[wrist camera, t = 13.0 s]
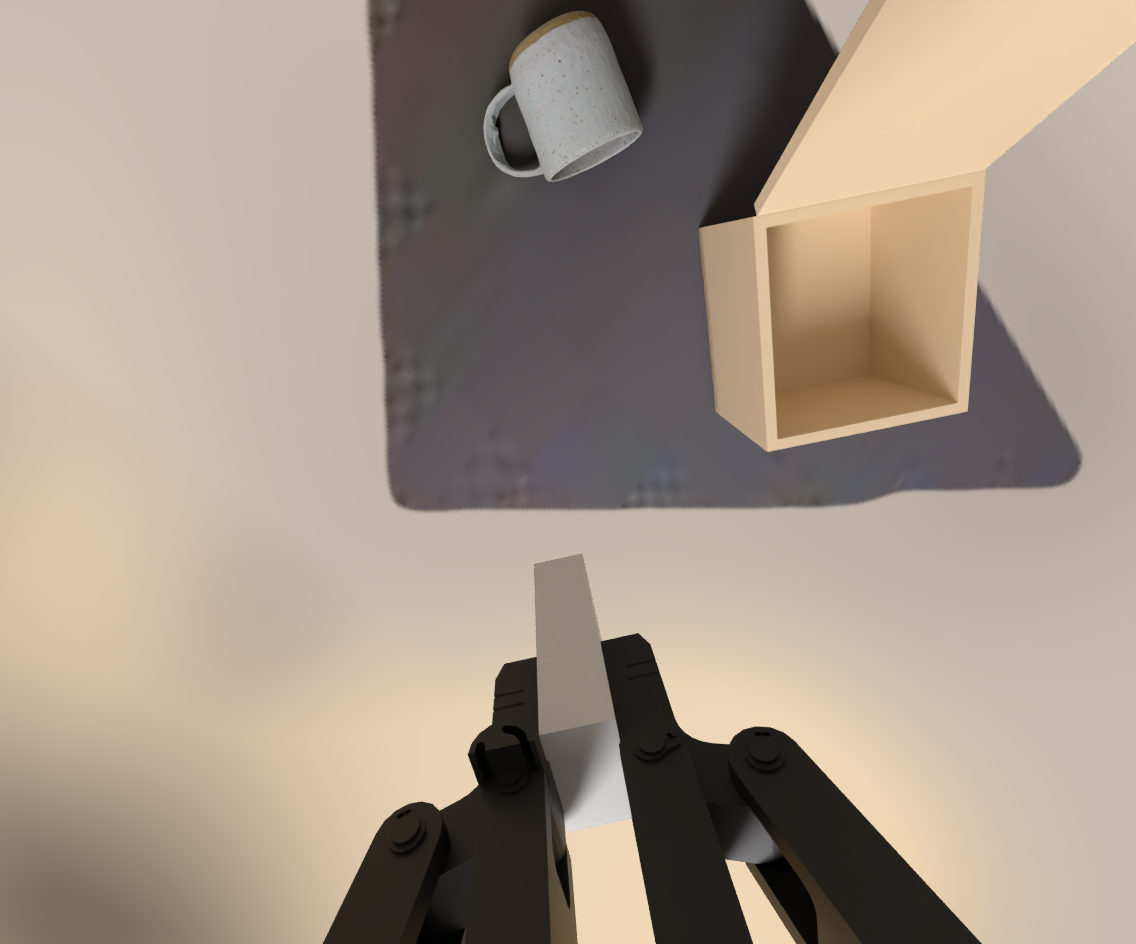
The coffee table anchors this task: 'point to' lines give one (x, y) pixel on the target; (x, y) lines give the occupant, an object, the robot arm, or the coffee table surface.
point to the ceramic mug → (566, 98)
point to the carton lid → (941, 91)
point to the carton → (845, 312)
